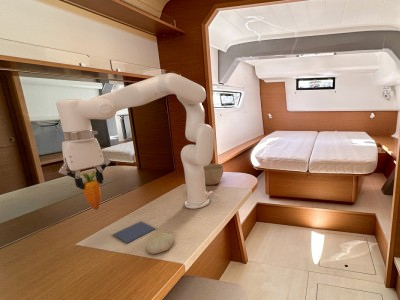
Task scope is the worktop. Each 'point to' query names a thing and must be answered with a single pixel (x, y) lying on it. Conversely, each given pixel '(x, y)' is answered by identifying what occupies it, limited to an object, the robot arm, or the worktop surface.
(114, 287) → the worktop surface
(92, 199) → the carrot
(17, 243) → the worktop surface
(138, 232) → the napkin
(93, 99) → the robot arm
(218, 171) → the planter bowl
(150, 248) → the sea urchin shell
